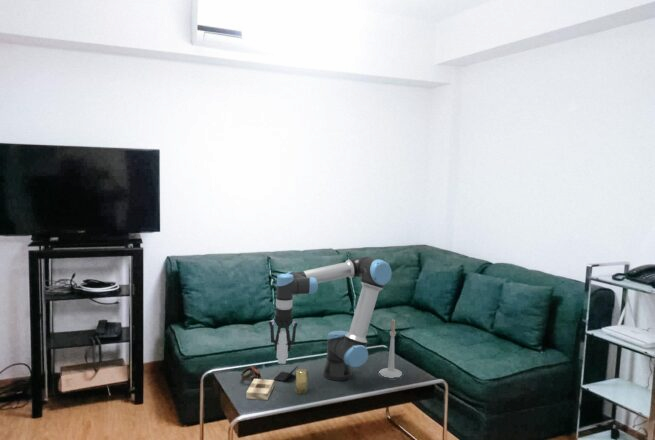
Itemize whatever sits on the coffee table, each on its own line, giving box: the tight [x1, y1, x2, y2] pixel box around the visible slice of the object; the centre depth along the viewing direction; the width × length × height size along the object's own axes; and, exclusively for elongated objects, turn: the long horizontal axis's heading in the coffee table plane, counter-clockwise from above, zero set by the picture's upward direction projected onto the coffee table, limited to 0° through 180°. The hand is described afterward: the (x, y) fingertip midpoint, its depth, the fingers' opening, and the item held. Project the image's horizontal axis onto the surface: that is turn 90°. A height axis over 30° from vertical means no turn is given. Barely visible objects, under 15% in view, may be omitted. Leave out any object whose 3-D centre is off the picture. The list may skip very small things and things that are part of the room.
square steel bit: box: [277, 330, 287, 365], centre depth 232 cm, size 3×3×14 cm
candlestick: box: [378, 318, 403, 378], centre depth 265 cm, size 13×13×30 cm
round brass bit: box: [295, 368, 309, 395], centre depth 241 cm, size 6×6×10 cm
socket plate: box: [245, 378, 275, 401], centre depth 238 cm, size 10×16×3 cm, turn 175°
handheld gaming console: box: [273, 365, 298, 383], centre depth 256 cm, size 12×7×10 cm
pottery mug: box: [240, 365, 262, 382], centre depth 252 cm, size 12×10×8 cm
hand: (282, 357), depth 232 cm, fingers closed on square steel bit, 3 cm apart
